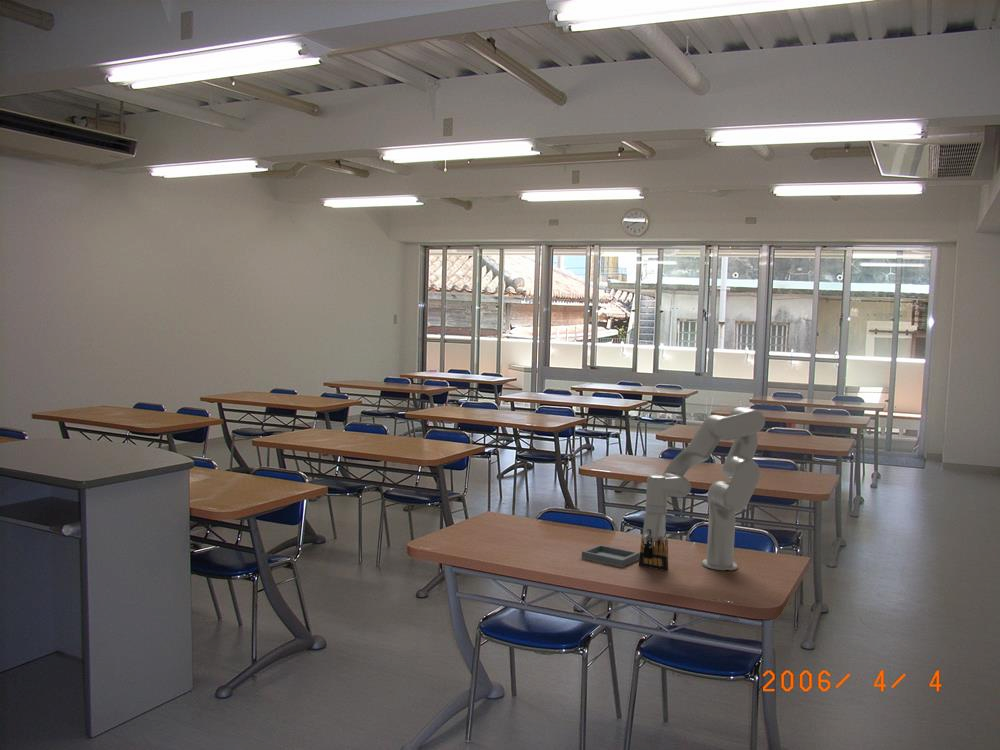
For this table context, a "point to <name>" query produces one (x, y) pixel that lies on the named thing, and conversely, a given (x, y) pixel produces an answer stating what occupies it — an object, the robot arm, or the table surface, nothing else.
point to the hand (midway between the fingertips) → (653, 555)
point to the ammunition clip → (655, 555)
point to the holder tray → (610, 555)
